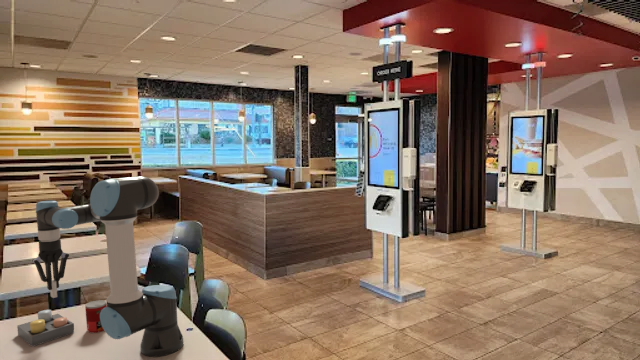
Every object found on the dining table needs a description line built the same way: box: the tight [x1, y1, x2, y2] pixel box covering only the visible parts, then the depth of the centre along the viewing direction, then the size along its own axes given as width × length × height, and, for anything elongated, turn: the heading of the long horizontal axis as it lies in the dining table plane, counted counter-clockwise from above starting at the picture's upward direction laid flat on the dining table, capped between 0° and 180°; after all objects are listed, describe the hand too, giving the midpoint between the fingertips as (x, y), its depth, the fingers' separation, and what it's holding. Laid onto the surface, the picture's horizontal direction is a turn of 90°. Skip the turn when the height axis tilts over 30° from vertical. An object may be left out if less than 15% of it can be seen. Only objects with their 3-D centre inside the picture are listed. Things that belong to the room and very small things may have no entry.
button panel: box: [16, 313, 75, 347], centre depth 179 cm, size 16×15×4 cm
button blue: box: [37, 309, 52, 322], centre depth 183 cm, size 5×5×4 cm
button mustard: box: [30, 319, 45, 333], centre depth 173 cm, size 5×5×4 cm
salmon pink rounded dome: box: [53, 316, 68, 328], centre depth 179 cm, size 5×5×4 cm
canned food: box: [85, 299, 107, 334], centre depth 182 cm, size 8×8×11 cm
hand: (54, 296), depth 179 cm, fingers closed
